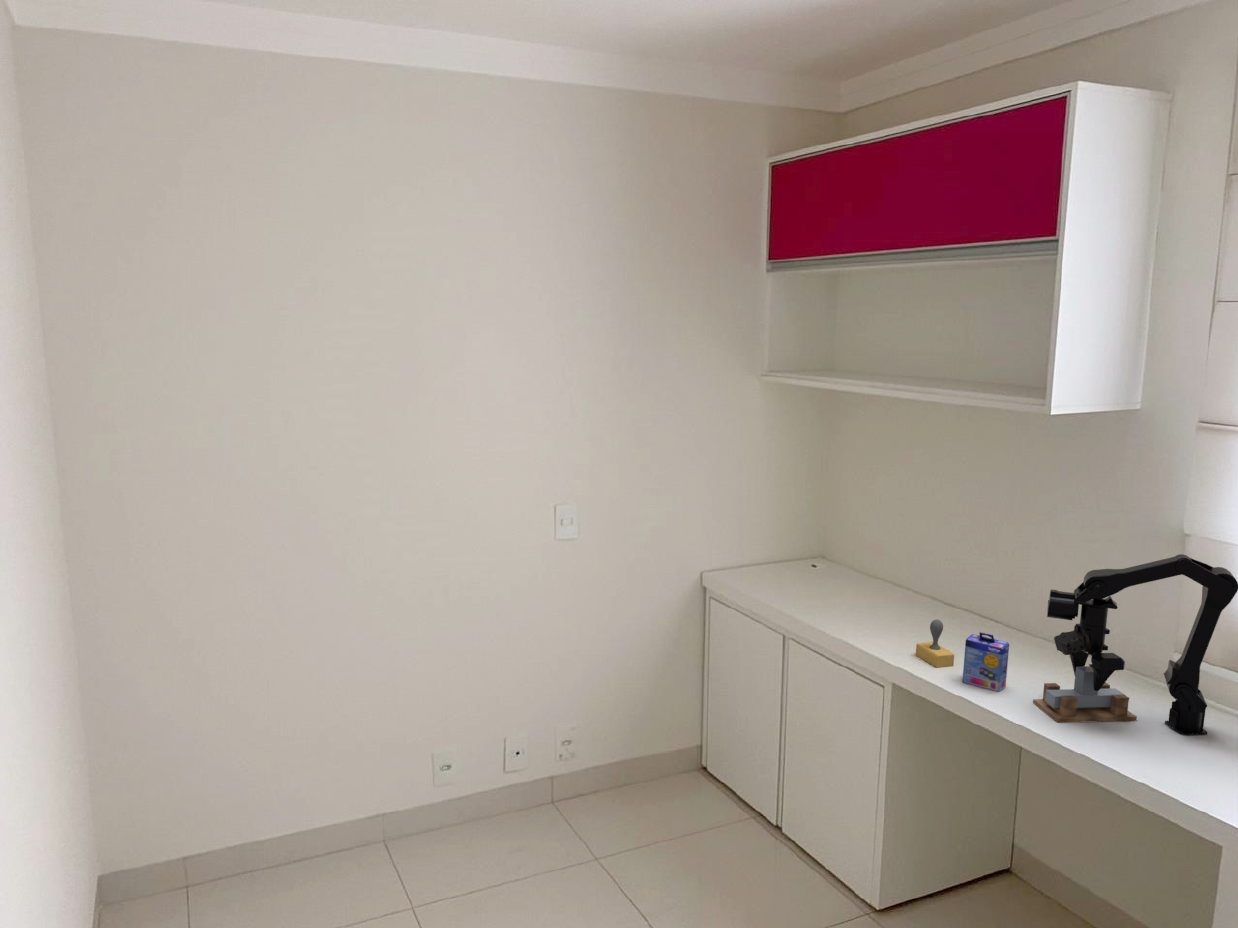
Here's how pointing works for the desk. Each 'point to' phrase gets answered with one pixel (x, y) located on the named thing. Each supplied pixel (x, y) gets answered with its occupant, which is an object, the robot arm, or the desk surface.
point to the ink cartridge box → (985, 662)
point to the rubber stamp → (935, 648)
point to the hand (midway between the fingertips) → (1086, 683)
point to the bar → (1083, 691)
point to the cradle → (1074, 714)
